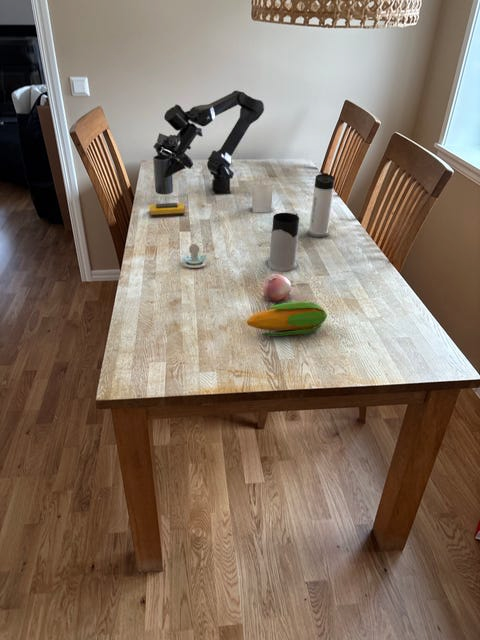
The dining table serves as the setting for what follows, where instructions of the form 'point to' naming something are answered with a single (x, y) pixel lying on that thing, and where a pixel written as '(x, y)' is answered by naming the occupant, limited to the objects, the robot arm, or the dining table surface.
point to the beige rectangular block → (262, 198)
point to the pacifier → (194, 257)
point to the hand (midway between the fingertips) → (160, 174)
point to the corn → (289, 318)
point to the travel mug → (321, 205)
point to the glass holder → (284, 241)
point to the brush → (167, 210)
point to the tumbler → (162, 174)
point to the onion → (276, 288)
